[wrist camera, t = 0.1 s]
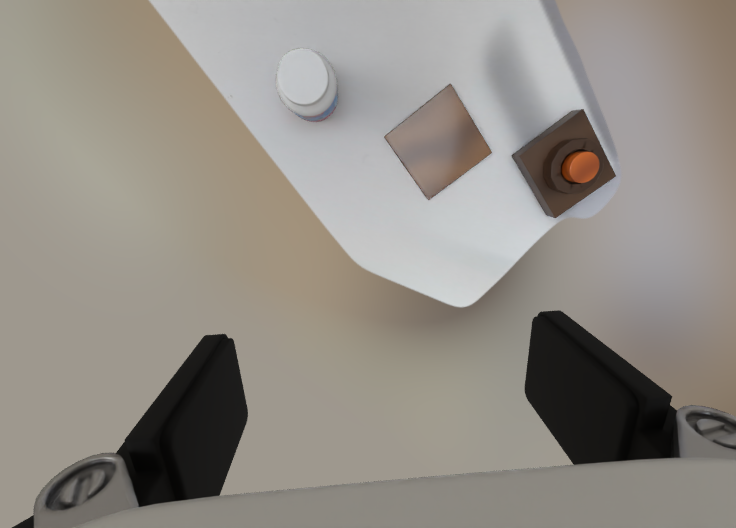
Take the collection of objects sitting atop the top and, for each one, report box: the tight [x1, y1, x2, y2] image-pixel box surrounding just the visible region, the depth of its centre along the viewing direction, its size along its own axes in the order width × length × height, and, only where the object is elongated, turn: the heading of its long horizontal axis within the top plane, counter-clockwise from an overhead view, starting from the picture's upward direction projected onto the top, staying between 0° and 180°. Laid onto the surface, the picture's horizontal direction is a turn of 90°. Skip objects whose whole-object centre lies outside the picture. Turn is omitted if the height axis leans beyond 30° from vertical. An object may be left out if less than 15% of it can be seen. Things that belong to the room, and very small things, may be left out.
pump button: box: [562, 152, 599, 183], centre depth 42 cm, size 4×4×2 cm
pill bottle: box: [276, 48, 338, 122], centre depth 36 cm, size 6×6×11 cm
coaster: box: [385, 84, 492, 200], centre depth 44 cm, size 10×10×1 cm
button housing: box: [512, 109, 616, 218], centre depth 44 cm, size 10×9×4 cm
